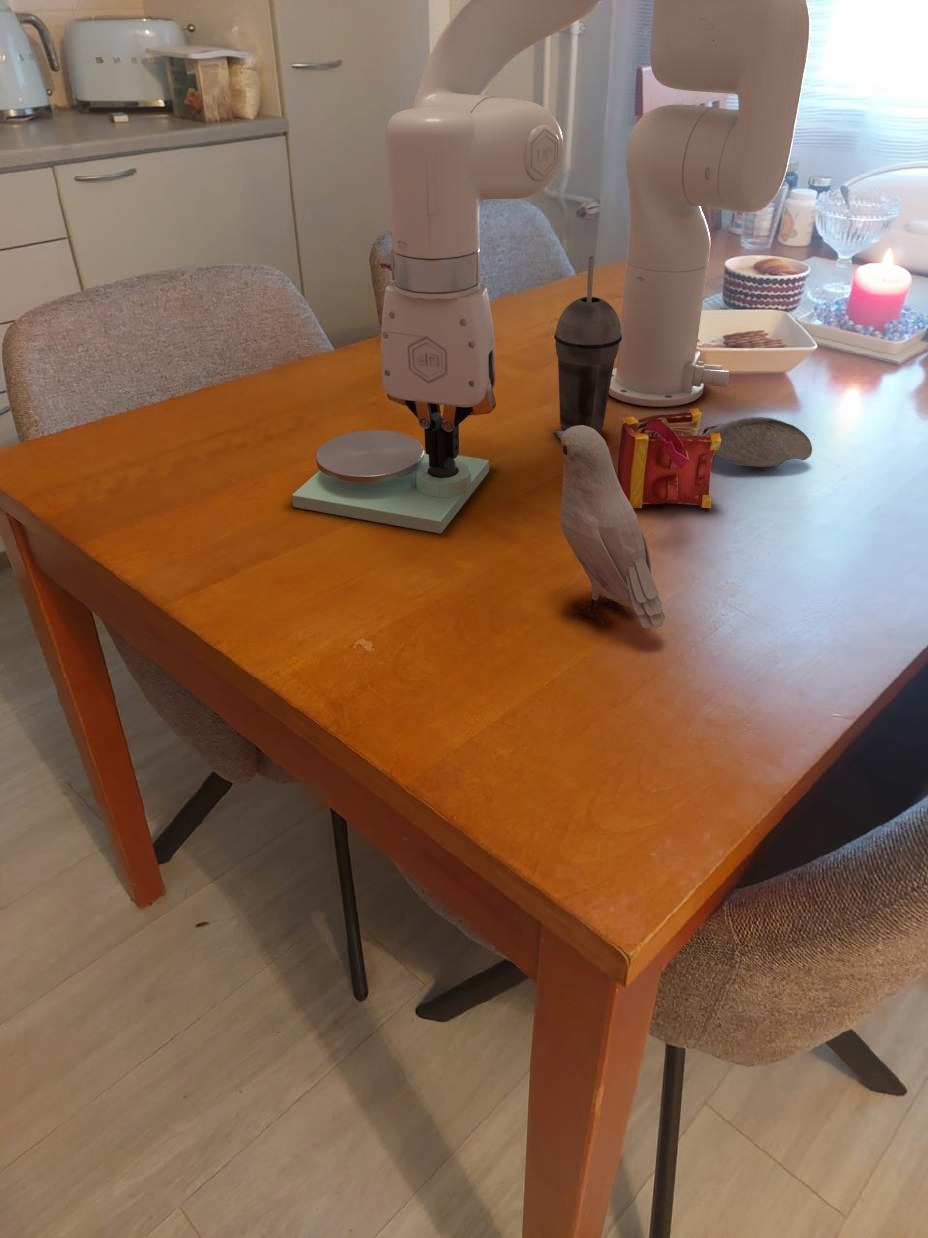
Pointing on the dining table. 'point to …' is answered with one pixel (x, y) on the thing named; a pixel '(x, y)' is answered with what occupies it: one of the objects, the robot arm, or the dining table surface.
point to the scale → (397, 496)
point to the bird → (605, 529)
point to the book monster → (666, 460)
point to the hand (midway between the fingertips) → (442, 462)
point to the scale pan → (369, 456)
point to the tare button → (444, 471)
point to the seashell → (760, 441)
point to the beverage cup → (586, 358)
